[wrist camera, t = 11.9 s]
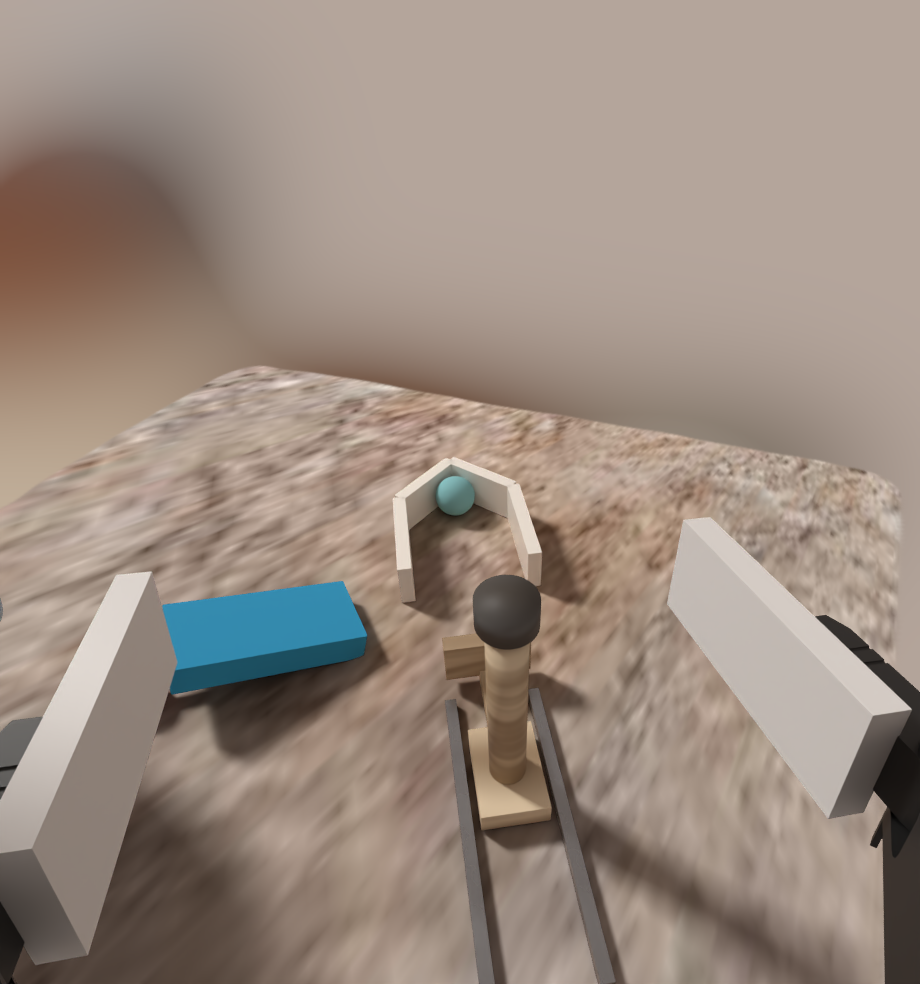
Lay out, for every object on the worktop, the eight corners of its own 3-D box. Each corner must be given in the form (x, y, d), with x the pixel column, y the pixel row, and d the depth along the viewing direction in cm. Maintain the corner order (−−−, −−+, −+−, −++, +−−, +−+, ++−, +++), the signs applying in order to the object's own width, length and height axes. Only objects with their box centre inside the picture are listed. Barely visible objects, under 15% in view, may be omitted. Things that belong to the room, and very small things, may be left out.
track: (614, 987, 33) (615, 982, 32) (482, 1009, 32) (481, 1005, 32) (538, 694, 47) (538, 687, 47) (445, 706, 47) (445, 700, 46)
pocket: (540, 585, 56) (542, 552, 54) (402, 602, 55) (397, 569, 53) (508, 481, 69) (507, 450, 66) (394, 494, 68) (390, 463, 65)
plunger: (565, 817, 40) (586, 637, 29) (465, 832, 39) (449, 655, 29) (526, 663, 49) (531, 485, 39) (445, 674, 49) (428, 497, 38)
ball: (426, 491, 62) (428, 506, 65) (459, 514, 61) (458, 528, 65) (451, 462, 63) (451, 478, 67) (483, 484, 62) (481, 500, 66)
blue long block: (334, 639, 58) (114, 678, 50) (342, 581, 55) (107, 612, 47) (357, 696, 53) (116, 749, 45) (367, 636, 50) (108, 682, 42)
